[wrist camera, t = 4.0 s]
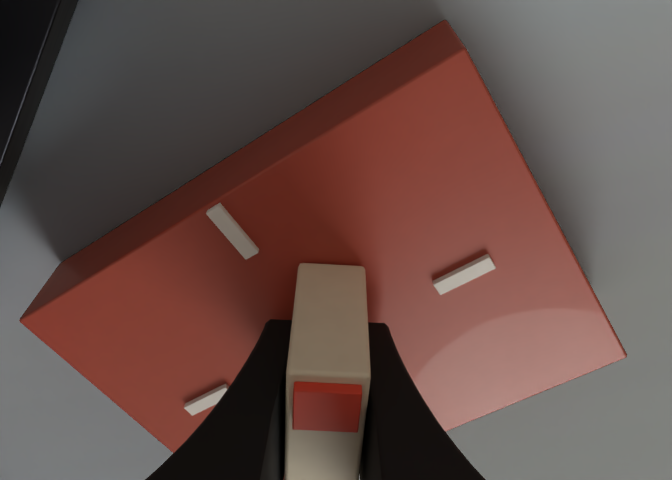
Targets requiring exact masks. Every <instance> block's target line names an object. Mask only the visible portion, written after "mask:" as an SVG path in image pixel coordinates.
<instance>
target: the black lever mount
mask: <svg viewBox="0 0 672 480" xmlns="http://www.w3.org/2000/svg"><path fill="white" fill-rule="evenodd" d="M77 3H78V0H0V207H1V204H2V201H3V199H4V196H5V194H6V191H7V188H8V186H9V183H10V180H11V178H12V175H13V172H14V170H15V167H16V164H17V162H18V159H19V156H20V154H21V151H22V148H23V146H24V143H25V140H26V138H27V135H28V133H29V130H30V127H31V125H32V122H33V119H34V117H35V114H36V111H37V109H38V106H39V103H40V101H41V98H42V95H43V93H44V90H45V87H46V85H47V82H48V80H49V77H50V74H51V72H52V69H53V66H54V64H55V61H56V58H57V56H58V53H59V50H60V48H61V45H62V42H63V40H64V37H65V34H66V32H67V29H68V26H69V24H70V21H71V19H72V16H73V13H74V11H75V8H76V5H77Z"/></svg>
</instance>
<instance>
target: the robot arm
mask: <svg viewBox="0 0 672 480" xmlns="http://www.w3.org/2000/svg"><path fill="white" fill-rule="evenodd" d="M291 325H292V320H280V319H270V320H269V321H267V322H266V323H265V326H264V328H263V331H262V333H261V335H260V337H259V339H258V341H257V343H256V345H255V347H254V348H253V350H252V352H251V354H250V355H249V357H248V359H247V360H246V362H245V364H244V365H243V367H242V368H241V370H240V372H239V373H238V375H237V376H236V378H235V379H234V381H233V382H232V384H231V385H230V387H229V388H228V389H227V391H226V392H225V393H224V395H223V396H222V397H221V399H220V400H219V402H218V403H217V404H216V406H215V407H214V408H213V410H212V411H211V412H210V413H209V415H208V416H207V417H206V418H205V419H204V421H203V422H202V423H201V424H200V425H199V427H198V428H197V429H196V430H195V431H194V432H193V433H192V434H191V436H190V437H189V438H188V439H187V440H186V441H185V442H184V443H183V444H182V445H181V446H180V447H179V448H178V449H177V450H176V451H175V452H174V453H173V454H172V455H171V456H170V457H169V458H168V459H167V460H166V461H165V462H164V463H163V464H162V465H161V466H160V467H159V468H158V469H157V470H156V471H155V472H153V473H152V474H151V475H150V476H149V477H148V478H147V479H145V480H283V479H284V460H285V406H286V369H287V360H288V351H289V343H290V334H291ZM368 332H369V351H370V369H371V379H370V388H369V396H368V404H367V413H366V421H365V430H364V438H363V446H362V455H361V463H360V471H359V473H360V480H485V479H484V478H483V477H482V476H481V474H480V473H479V472H478V471H477V470H476V469H475V468H474V467H473V466H472V465H471V464H470V462H469V461H468V460H467V459H466V457H465V456H464V455H463V454H462V453H461V451H460V450H459V449H458V448H457V447H456V445H455V444H454V443H453V441H452V440H451V439H450V437H449V436H448V435H447V433H446V432H445V431H444V429H443V428H442V427H441V425H440V424H439V422H438V421H437V419H436V418H435V416H434V415H433V413H432V412H431V410H430V409H429V407H428V406H427V404H426V403H425V401H424V399H423V398H422V396H421V394H420V393H419V391H418V389H417V387H416V386H415V384H414V382H413V380H412V378H411V377H410V375H409V373H408V371H407V369H406V367H405V365H404V363H403V361H402V359H401V357H400V355H399V353H398V350H397V348H396V346H395V343H394V341H393V338H392V336H391V333H390V330H389V327H388V326H387V325H386V324H385V323H372V322H368Z"/></svg>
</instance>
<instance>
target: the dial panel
mask: <svg viewBox="0 0 672 480" xmlns="http://www.w3.org/2000/svg"><path fill="white" fill-rule="evenodd" d="M300 263H315V264H333V265H352V266H362V267H364V269H365V276H366V295H367V313H368V322H372V323H385V324H386V325H387V326H388V327H389V330H390V333H391V336H392V338H393V341H394V343H395V346H396V348H397V350H398V353H399V355H400V357H401V359H402V361H403V363H404V365H405V367H406V369H407V371H408V373H409V375H410V377H411V378H412V380H413V382H414V384H415V386H416V387H417V389H418V391H419V393H420V394H421V396H422V398H423V399H424V401H425V403H426V404H427V406H428V407H429V409H430V410H431V412H432V413H433V415H434V416H435V418H436V419H437V421H438V422H439V424H440V425H441V427H442V428H443V429H444V431H448V430H450V429H453V428H455V427H458V426H460V425H463V424H465V423H467V422H470V421H472V420H475V419H477V418H480V417H482V416H484V415H487V414H489V413H492V412H494V411H497V410H499V409H502V408H504V407H506V406H509V405H511V404H514V403H516V402H519V401H521V400H524V399H526V398H528V397H531V396H533V395H536V394H538V393H541V392H543V391H545V390H548V389H550V388H553V387H555V386H558V385H560V384H563V383H565V382H567V381H570V380H572V379H575V378H577V377H580V376H582V375H584V374H587V373H589V372H592V371H594V370H597V369H599V368H602V367H604V366H606V365H609V364H611V363H614V362H616V361H619V360H621V359H624V358H626V357H627V354H626V352H625V350H624V348H623V346H622V344H621V342H620V340H619V338H618V337H617V335H616V333H615V331H614V329H613V327H612V325H611V323H610V321H609V319H608V318H607V316H606V314H605V312H604V310H603V308H602V306H601V304H600V302H599V300H598V299H597V297H596V295H595V293H594V291H593V289H592V287H591V285H590V283H589V281H588V280H587V278H586V276H585V274H584V272H583V270H582V268H581V266H580V264H579V262H578V261H577V259H576V257H575V255H574V253H573V251H572V249H571V247H570V245H569V243H568V241H567V240H566V238H565V236H564V234H563V232H562V230H561V228H560V226H559V224H558V222H557V221H556V219H555V217H554V215H553V213H552V211H551V209H550V207H549V205H548V203H547V202H546V200H545V198H544V196H543V194H542V192H541V190H540V188H539V186H538V184H537V183H536V181H535V179H534V177H533V175H532V173H531V171H530V169H529V167H528V165H527V163H526V162H525V160H524V158H523V156H522V154H521V152H520V150H519V148H518V146H517V144H516V143H515V141H514V139H513V137H512V135H511V133H510V131H509V129H508V127H507V125H506V124H505V122H504V120H503V118H502V116H501V114H500V112H499V110H498V108H497V106H496V105H495V103H494V101H493V99H492V97H491V95H490V93H489V91H488V89H487V87H486V85H485V84H484V82H483V80H482V78H481V76H480V74H479V72H478V70H477V68H476V66H475V65H474V63H473V61H472V59H471V57H470V55H469V53H468V51H467V49H466V48H465V46H464V45H463V43H462V42H461V40H460V39H459V38H458V36H457V35H456V33H455V32H454V30H453V29H452V27H451V26H450V24H449V23H448V22H447V21H446V20H443V21H442V22H440V23H438V24H437V25H435V26H434V27H432V28H431V29H429V30H427V31H426V32H424V33H423V34H421V35H420V36H418V37H416V38H415V39H413V40H412V41H410V42H408V43H407V44H405V45H404V46H402V47H401V48H399V49H397V50H396V51H394V52H393V53H391V54H390V55H388V56H386V57H385V58H383V59H382V60H380V61H379V62H377V63H375V64H374V65H372V66H371V67H369V68H368V69H366V70H364V71H363V72H361V73H360V74H358V75H356V76H355V77H353V78H352V79H350V80H349V81H347V82H345V83H344V84H342V85H341V86H339V87H338V88H336V89H334V90H333V91H331V92H330V93H328V94H327V95H325V96H323V97H322V98H320V99H319V100H317V101H316V102H314V103H312V104H311V105H309V106H308V107H306V108H304V109H303V110H301V111H300V112H298V113H297V114H295V115H293V116H292V117H290V118H289V119H287V120H286V121H284V122H282V123H281V124H279V125H278V126H276V127H275V128H273V129H271V130H270V131H268V132H267V133H265V134H264V135H262V136H260V137H259V138H257V139H256V140H254V141H252V142H251V143H249V144H248V145H246V146H245V147H243V148H241V149H240V150H238V151H237V152H235V153H234V154H232V155H230V156H229V157H227V158H226V159H224V160H223V161H221V162H219V163H218V164H216V165H215V166H213V167H212V168H210V169H208V170H207V171H205V172H204V173H202V174H200V175H199V176H197V177H196V178H194V179H193V180H191V181H189V182H188V183H186V184H185V185H183V186H182V187H180V188H178V189H177V190H175V191H174V192H172V193H171V194H169V195H167V196H166V197H164V198H163V199H161V200H159V201H158V202H156V203H155V204H153V205H152V206H150V207H148V208H147V209H145V210H144V211H142V212H141V213H139V214H137V215H136V216H134V217H133V218H131V219H130V220H128V221H126V222H125V223H123V224H122V225H120V226H119V227H117V228H115V229H114V230H112V231H111V232H109V233H107V234H106V235H104V236H103V237H101V238H100V239H98V240H96V241H95V242H93V243H92V244H90V245H89V246H87V247H85V248H84V249H82V250H81V251H79V252H78V253H76V254H74V255H73V256H71V257H70V258H68V259H67V260H65V261H63V262H62V263H60V264H59V266H58V267H57V268H56V270H55V271H54V272H53V274H52V275H51V277H50V278H49V279H48V281H47V282H46V283H45V285H44V286H43V288H42V289H41V290H40V292H39V293H38V295H37V296H36V297H35V299H34V300H33V301H32V303H31V304H30V306H29V307H28V308H27V310H26V311H25V313H24V314H23V315H22V317H21V318H20V320H19V321H20V322H21V323H22V324H23V325H24V326H25V327H27V328H28V329H29V330H30V331H31V332H32V333H34V334H35V335H36V336H37V337H38V338H40V339H41V340H42V341H43V342H44V343H45V344H47V345H48V346H49V347H50V348H51V349H52V350H54V351H55V352H56V353H57V354H58V355H59V356H61V357H62V358H63V359H64V360H65V361H66V362H68V363H69V364H70V365H71V366H72V367H73V368H75V369H76V370H77V371H78V372H79V373H80V374H82V375H83V376H84V377H85V378H86V379H87V380H89V381H90V382H91V383H92V384H93V385H95V386H96V387H97V388H98V389H99V390H100V391H102V392H103V393H104V394H105V395H106V396H107V397H109V398H110V399H111V400H112V401H113V402H114V403H116V404H117V405H118V406H119V407H120V408H121V409H123V410H124V411H125V412H126V413H127V414H128V415H130V416H131V417H132V418H133V419H134V420H135V421H137V422H138V423H139V424H140V425H141V426H142V427H144V428H145V429H146V430H147V431H148V432H149V433H151V434H152V435H153V436H154V437H155V438H157V439H158V440H159V441H160V442H161V443H162V444H164V445H165V446H166V447H167V448H168V449H169V450H171V451H172V452H173V453H174V452H175V451H176V450H177V449H178V448H179V447H180V446H181V445H182V444H183V443H184V442H185V441H186V440H187V439H188V438H189V437H190V436H191V434H192V433H193V432H194V431H195V430H196V429H197V428H198V427H199V425H200V424H201V423H202V422H203V421H204V419H205V418H206V417H207V416H208V415H209V413H210V412H211V411H212V410H213V408H214V407H215V406H216V404H217V403H218V402H219V400H220V399H221V397H222V396H223V395H224V393H225V392H226V391H227V389H228V388H229V387H230V385H231V384H232V382H233V381H234V379H235V378H236V376H237V375H238V373H239V372H240V370H241V368H242V367H243V365H244V364H245V362H246V360H247V359H248V357H249V355H250V354H251V352H252V350H253V348H254V347H255V345H256V343H257V341H258V339H259V337H260V335H261V333H262V331H263V328H264V326H265V323H266V322H267V321H269V320H270V319H280V320H292V317H293V308H294V299H295V291H296V282H297V273H298V266H299V265H300ZM283 480H284V479H283Z"/></svg>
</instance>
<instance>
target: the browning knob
mask: <svg viewBox="0 0 672 480" xmlns="http://www.w3.org/2000/svg"><path fill="white" fill-rule="evenodd" d="M370 379H371V369H370V351H369V332H368V313H367V295H366V276H365V269H364V267H362V266H352V265H333V264H315V263H300V265H299V266H298V273H297V282H296V291H295V299H294V308H293V317H292V325H291V334H290V343H289V351H288V360H287V369H286V406H285V460H284V480H359V471H360V463H361V455H362V446H363V438H364V430H365V421H366V413H367V404H368V396H369V388H370Z"/></svg>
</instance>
